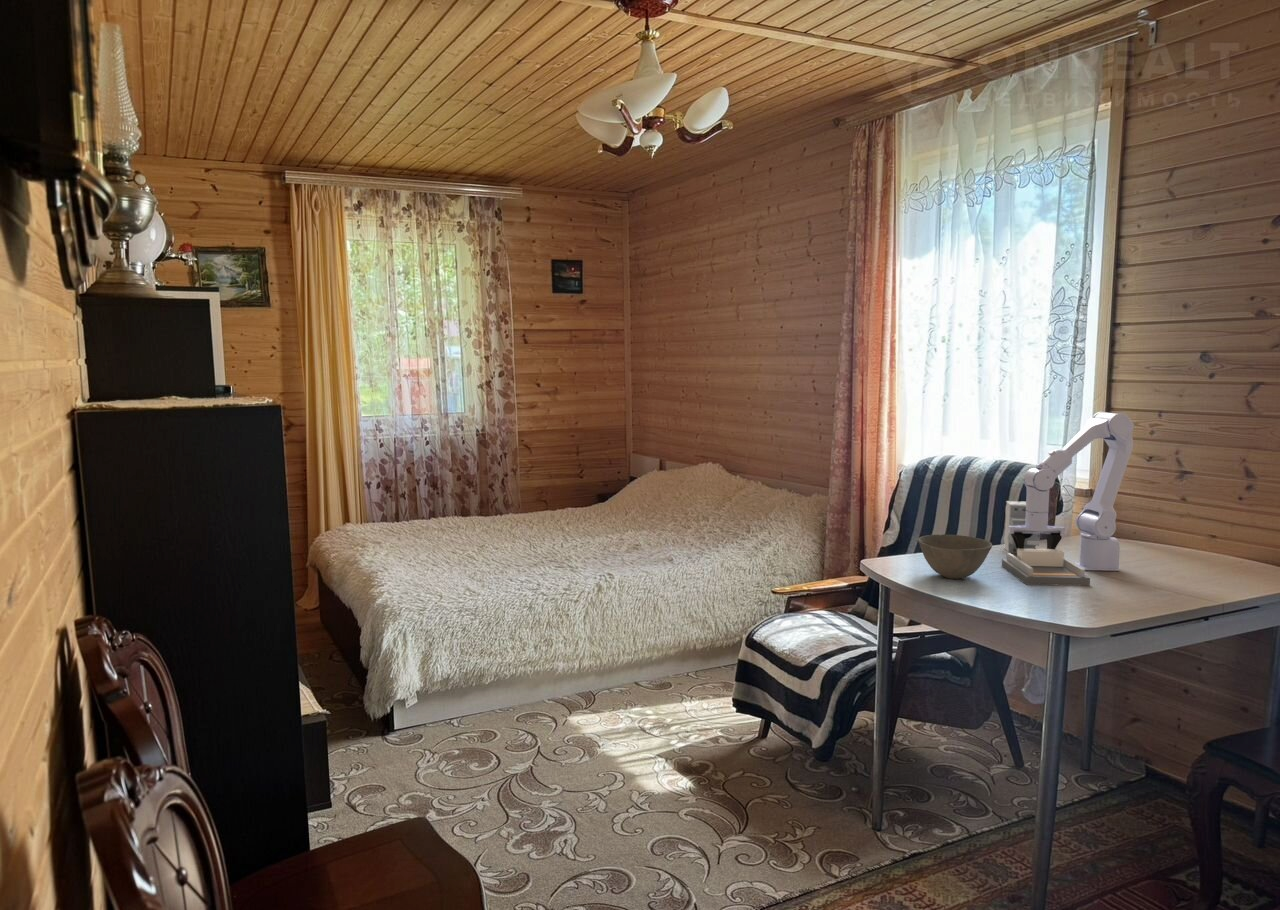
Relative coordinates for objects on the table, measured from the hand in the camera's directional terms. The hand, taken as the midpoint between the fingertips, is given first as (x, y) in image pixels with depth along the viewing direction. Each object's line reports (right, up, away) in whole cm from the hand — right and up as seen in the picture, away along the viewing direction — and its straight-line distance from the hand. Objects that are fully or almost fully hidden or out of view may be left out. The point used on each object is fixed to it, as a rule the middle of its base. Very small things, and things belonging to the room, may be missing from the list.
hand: (1034, 558), depth 236 cm
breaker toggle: (0, -1, -4) cm, 4 cm away
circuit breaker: (+5, -1, +20) cm, 20 cm away
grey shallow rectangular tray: (-1, -4, -7) cm, 8 cm away
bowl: (-26, -4, -8) cm, 28 cm away
